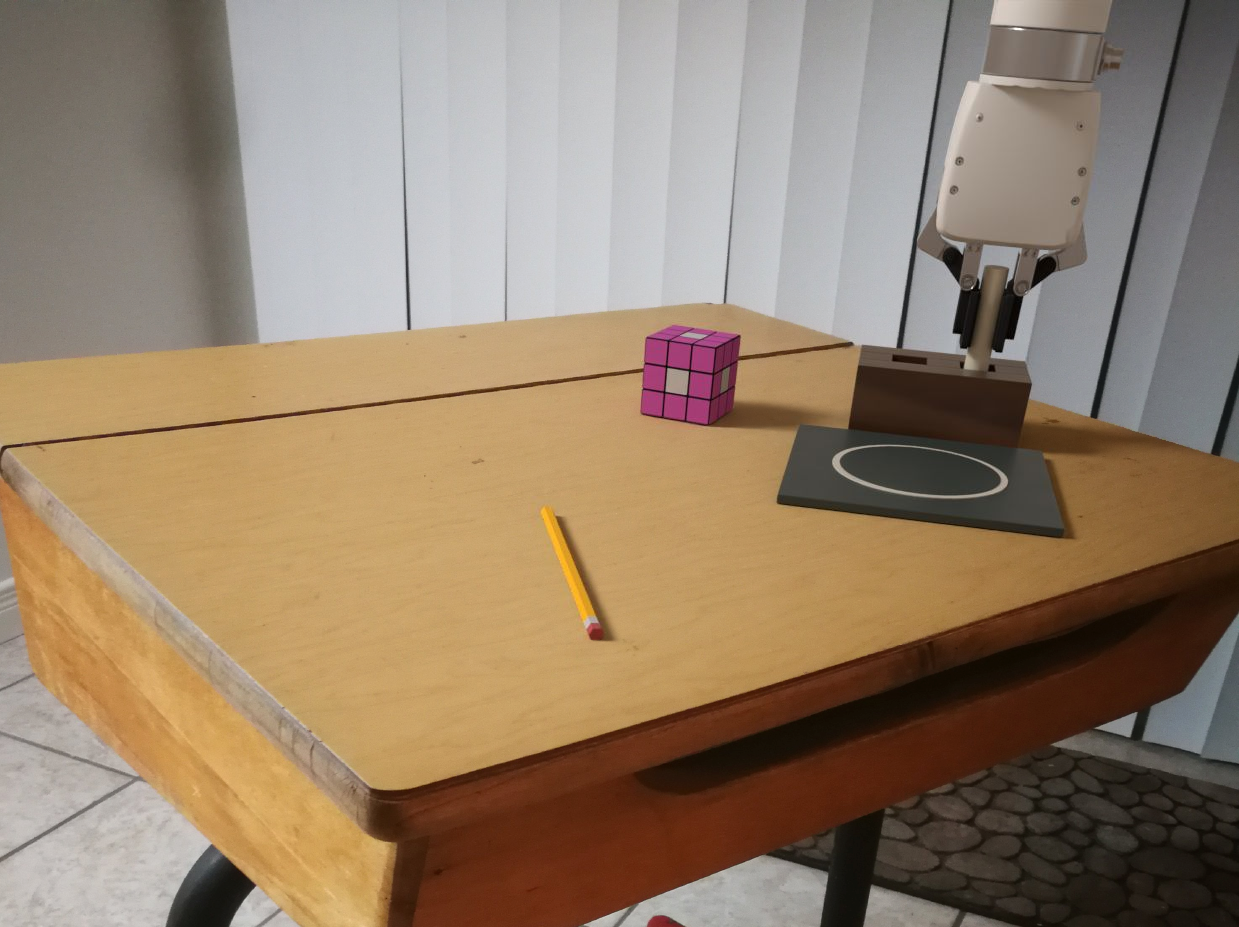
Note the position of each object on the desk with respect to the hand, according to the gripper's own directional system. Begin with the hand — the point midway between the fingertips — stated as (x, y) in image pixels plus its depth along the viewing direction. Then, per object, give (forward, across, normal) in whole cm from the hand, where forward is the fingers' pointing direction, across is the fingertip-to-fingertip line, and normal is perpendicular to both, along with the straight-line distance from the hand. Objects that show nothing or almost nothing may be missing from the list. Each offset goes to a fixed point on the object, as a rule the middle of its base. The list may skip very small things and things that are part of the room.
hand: (980, 345), depth 97 cm
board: (+7, +3, +14) cm, 16 cm away
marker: (+7, 0, 0) cm, 7 cm away
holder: (+7, +2, 0) cm, 7 cm away
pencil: (+7, +22, +39) cm, 46 cm away
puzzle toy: (+7, +21, +3) cm, 23 cm away
